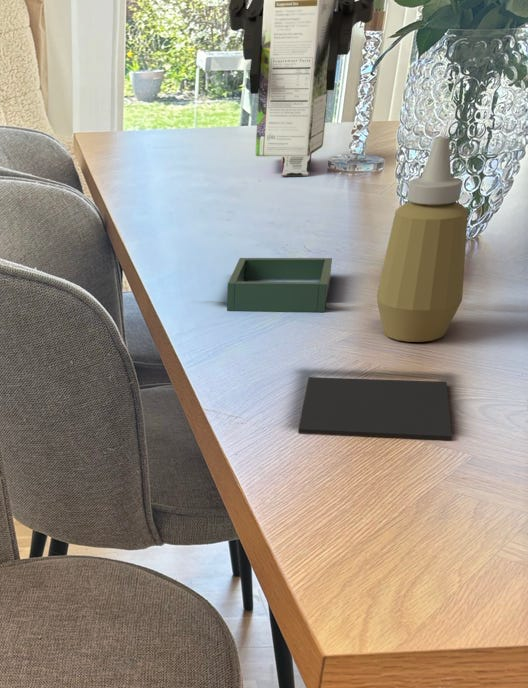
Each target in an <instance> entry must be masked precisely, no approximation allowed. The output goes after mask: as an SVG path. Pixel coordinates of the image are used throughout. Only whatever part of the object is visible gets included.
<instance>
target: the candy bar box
mask: <svg viewBox="0 0 528 688" xmlns="http://www.w3.org/2000/svg"><path fill="white" fill-rule="evenodd" d="M312 154H313V153H312ZM312 154H310V155H309V156H305V157H281V162H280V163H281V165H280V166H281V167H280V168H281V169H280V170H281V171H280V172H281V177H305V176H306V177H308V176H310V172H311V164H312Z"/></svg>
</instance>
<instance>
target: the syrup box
mask: <svg viewBox="0 0 528 688" xmlns="http://www.w3.org/2000/svg"><path fill="white" fill-rule="evenodd" d="M335 4H336V0H264V9H263V28H262V45H261V61H260V80H259V92H258V101H257V102H258V104H257V117H256V118H257V119H256V137H255V152H254V154H255V156H256V157H258V158H261V157H262V158H263V157H264V158H282V157H305V156H309V155H310V154H314V153H315V152H317V151H318V150H319V149H321V148H323V145H324V137H325V128H326V115H327V106H328V105H327V104H328V92H329V90H326V80H327V64H328V56H329V47H330V38H331V29H332V21H333V12H334V11H336V9H335Z"/></svg>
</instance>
